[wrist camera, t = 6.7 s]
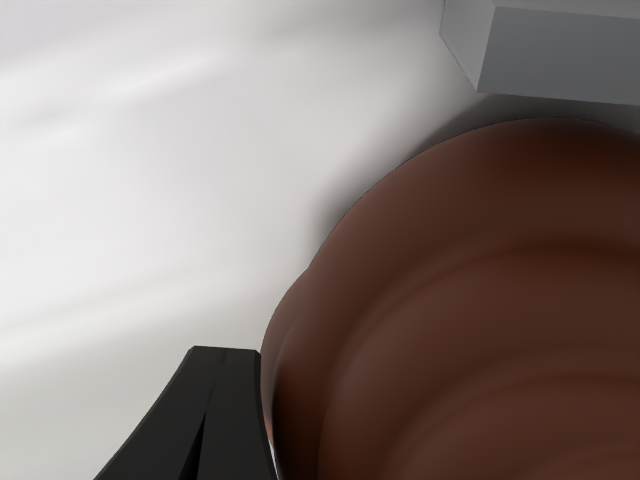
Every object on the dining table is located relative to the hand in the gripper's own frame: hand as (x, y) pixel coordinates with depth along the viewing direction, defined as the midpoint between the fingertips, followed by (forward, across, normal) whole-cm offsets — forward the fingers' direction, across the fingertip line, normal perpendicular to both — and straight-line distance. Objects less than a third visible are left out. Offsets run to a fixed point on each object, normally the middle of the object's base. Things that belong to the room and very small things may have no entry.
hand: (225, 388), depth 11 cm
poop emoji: (+3, -5, 0) cm, 6 cm away
